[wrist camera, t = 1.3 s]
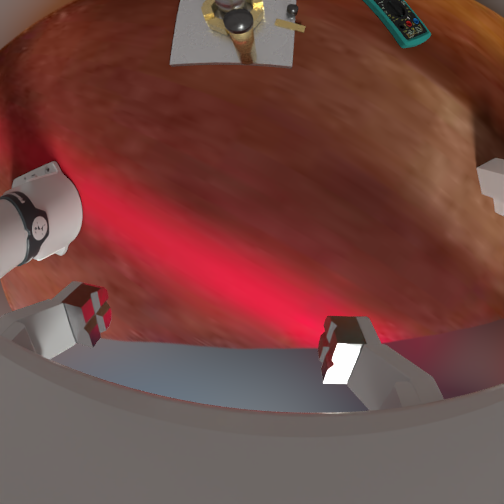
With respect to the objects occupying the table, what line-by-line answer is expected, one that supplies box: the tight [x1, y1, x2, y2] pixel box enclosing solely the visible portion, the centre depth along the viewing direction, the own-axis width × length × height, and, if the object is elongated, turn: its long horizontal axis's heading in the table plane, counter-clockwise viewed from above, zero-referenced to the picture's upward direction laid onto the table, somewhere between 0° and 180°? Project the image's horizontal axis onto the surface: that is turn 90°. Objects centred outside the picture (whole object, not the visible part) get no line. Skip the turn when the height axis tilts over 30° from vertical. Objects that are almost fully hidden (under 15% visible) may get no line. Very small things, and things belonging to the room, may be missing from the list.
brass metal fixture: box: [201, 0, 264, 65], centre depth 24 cm, size 14×8×14 cm, turn 14°
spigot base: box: [170, 0, 306, 69], centre depth 26 cm, size 20×18×10 cm
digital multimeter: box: [363, 0, 431, 48], centre depth 26 cm, size 7×15×3 cm, turn 37°
